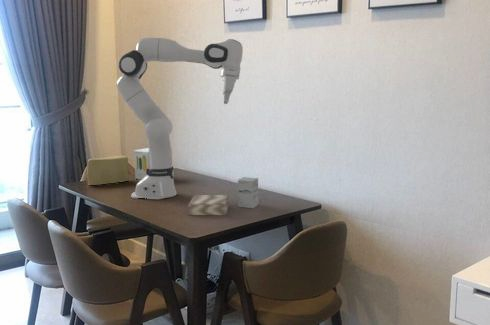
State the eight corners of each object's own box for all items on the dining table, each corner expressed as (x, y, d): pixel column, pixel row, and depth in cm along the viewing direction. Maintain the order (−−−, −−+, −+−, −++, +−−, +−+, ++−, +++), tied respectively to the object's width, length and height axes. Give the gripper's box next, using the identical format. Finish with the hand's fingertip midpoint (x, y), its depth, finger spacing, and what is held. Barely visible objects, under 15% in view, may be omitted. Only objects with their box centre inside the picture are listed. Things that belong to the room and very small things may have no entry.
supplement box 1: (134, 179, 294) (133, 150, 291) (152, 176, 304) (151, 147, 301) (149, 182, 285) (147, 151, 283) (167, 178, 295) (166, 149, 292)
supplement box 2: (237, 207, 229) (237, 179, 226) (243, 203, 235) (243, 176, 233) (253, 208, 226) (252, 180, 224) (258, 204, 233) (258, 177, 231)
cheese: (91, 188, 274) (89, 160, 272) (85, 185, 282) (83, 158, 280) (129, 182, 288) (128, 156, 285) (122, 179, 295) (121, 154, 293)
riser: (188, 215, 217) (188, 203, 216) (194, 205, 233) (193, 194, 232) (225, 214, 216) (225, 203, 215) (228, 205, 232) (228, 194, 231)
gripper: (222, 76, 252) (218, 103, 253) (224, 70, 232) (220, 100, 232) (235, 78, 253) (231, 105, 253) (238, 72, 232) (233, 102, 233)
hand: (226, 103), depth 242 cm, fingers open, 8 cm apart
